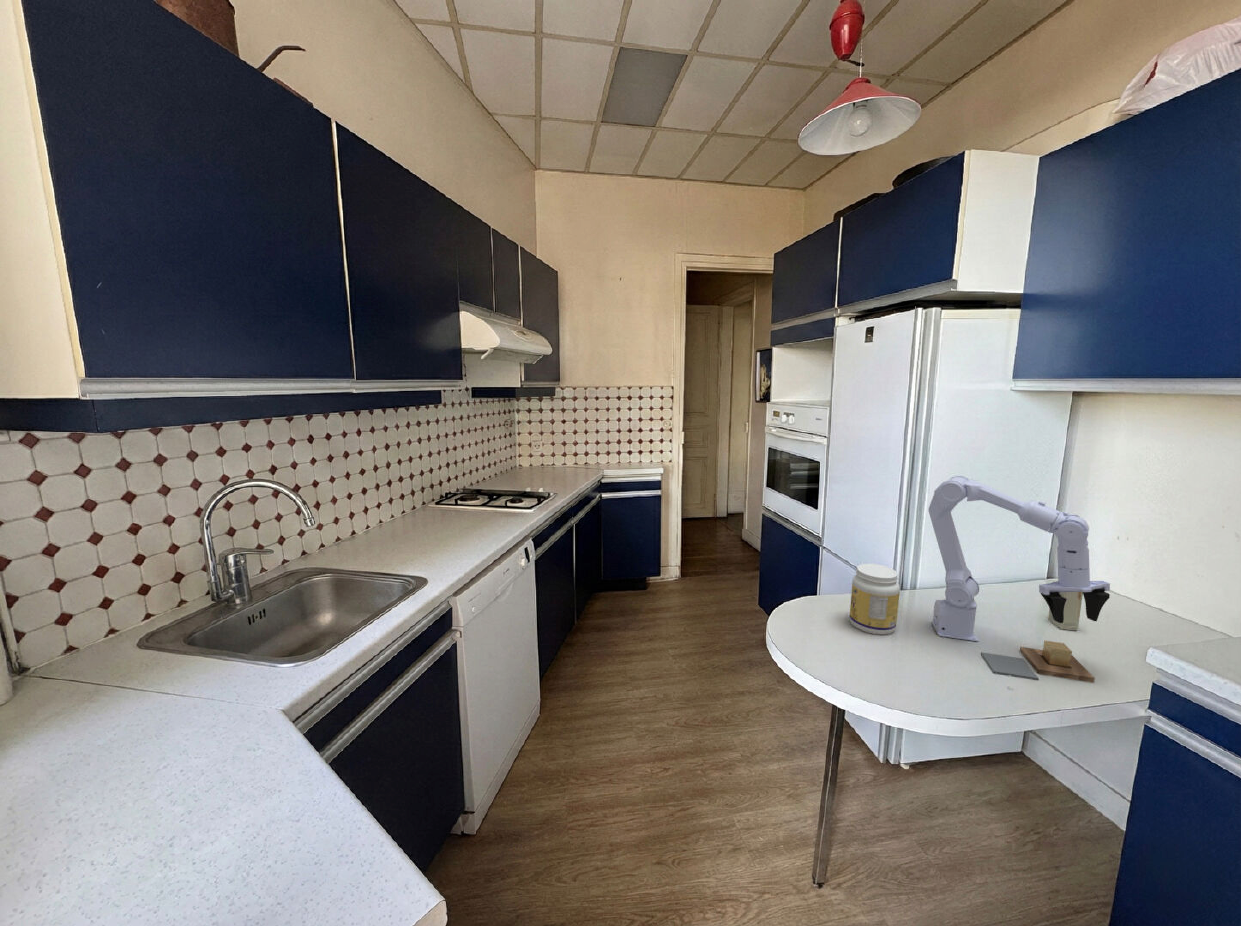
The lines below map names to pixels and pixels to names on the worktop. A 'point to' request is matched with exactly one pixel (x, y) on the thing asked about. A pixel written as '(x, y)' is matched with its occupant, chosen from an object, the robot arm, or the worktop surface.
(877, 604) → the supplement tub
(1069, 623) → the skincare box
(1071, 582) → the robot arm
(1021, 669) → the charcoal mat
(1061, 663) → the brass plug
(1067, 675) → the walnut square frame
